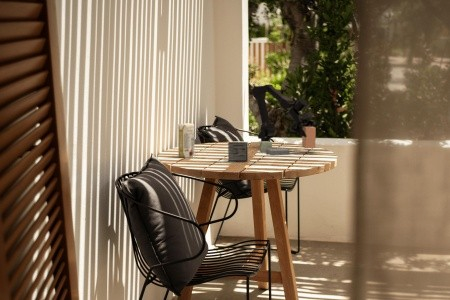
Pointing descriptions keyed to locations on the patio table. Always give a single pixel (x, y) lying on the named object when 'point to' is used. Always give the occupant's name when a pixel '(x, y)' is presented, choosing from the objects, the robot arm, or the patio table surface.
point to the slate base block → (278, 151)
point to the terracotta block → (309, 137)
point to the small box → (237, 151)
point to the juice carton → (186, 140)
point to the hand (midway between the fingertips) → (310, 136)
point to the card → (299, 150)
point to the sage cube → (264, 146)
